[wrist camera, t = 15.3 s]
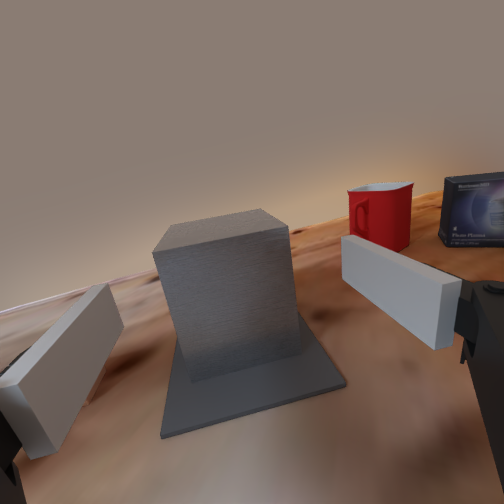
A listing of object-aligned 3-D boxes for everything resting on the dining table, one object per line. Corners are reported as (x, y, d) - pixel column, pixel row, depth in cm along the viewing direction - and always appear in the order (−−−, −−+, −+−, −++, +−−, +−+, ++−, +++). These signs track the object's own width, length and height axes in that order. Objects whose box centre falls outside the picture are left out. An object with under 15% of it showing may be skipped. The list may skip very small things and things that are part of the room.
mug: (369, 237, 50) (369, 183, 47) (414, 243, 44) (418, 181, 40) (332, 255, 44) (329, 195, 41) (378, 266, 38) (378, 195, 34)
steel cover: (191, 383, 21) (151, 252, 17) (195, 319, 31) (170, 225, 27) (302, 354, 22) (288, 225, 19) (273, 301, 32) (260, 208, 28)
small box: (445, 248, 40) (452, 181, 36) (437, 236, 45) (442, 177, 42) (538, 248, 35) (556, 171, 32) (516, 235, 40) (529, 168, 37)
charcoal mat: (161, 439, 17) (160, 435, 17) (183, 308, 34) (182, 306, 34) (346, 386, 19) (345, 382, 19) (280, 286, 36) (279, 284, 36)
